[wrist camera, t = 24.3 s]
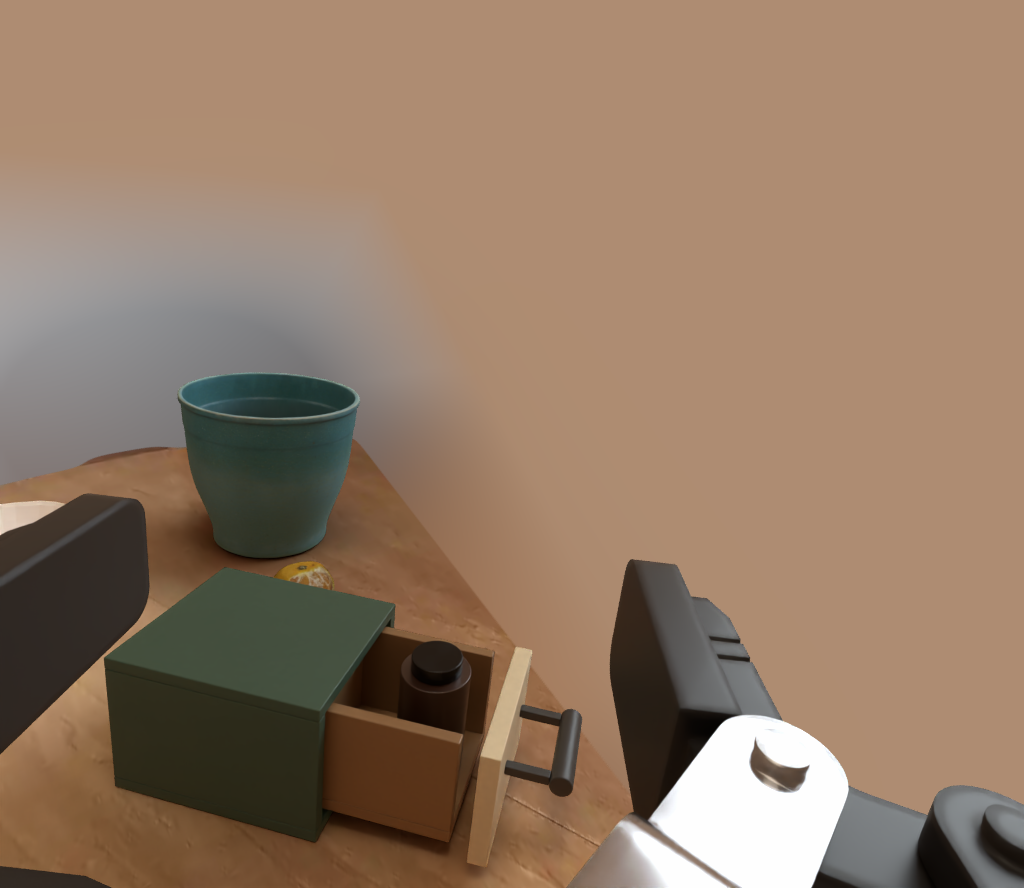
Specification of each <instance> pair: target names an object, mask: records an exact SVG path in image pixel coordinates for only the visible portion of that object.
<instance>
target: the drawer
mask: <svg viewBox="0 0 1024 888" xmlns="http://www.w3.org/2000/svg"><path fill="white" fill-rule="evenodd" d="M428 641H445V642H449V643H451V644H453V645H455V646H457V647H458V648H459V649H460V650H461V652H462V654H463V657H464V658H465V659H466V660H467V661H468V663H469V665H470V667H471V681H470V689H469V698H468V707H467V715H466V724H465V733H464V741H463V734H459V733H455V732H451V731H447V730H443V729H439V728H435V727H431V726H427V725H423V724H419V723H414V722H410V721H406V720H402V719H398V718H397V713H398V699H399V686H400V673H401V666H402V663H403V662H404V660H405V659H406V658H407V657H408V656H409V655H410V654H412V653H413V651H414V649H415V648H416V647H417V646H418V645H420V644H422V643H424V642H428ZM494 654H495V651H493V650H489V649H484V648H480V647H475V646H471V645H466V644H462V643H457V642H453V641H448V640H444V639H439V638H435V637H431V636H426V635H422V634H417V633H413V632H408V631H404V630H399V629H395V628H390V627H386V626H385V628H384V629H383V631H382V632H381V634H380V635H379V636H378V638H377V639H376V641H375V642H374V644H373V645H372V647H371V648H370V649H369V651H368V652H367V654H366V655H365V657H364V658H363V660H362V661H361V662H360V664H359V665H358V667H357V668H356V670H355V671H354V672H353V674H352V675H351V677H350V678H349V680H348V681H347V683H346V684H345V685H344V687H343V688H342V690H341V691H340V693H339V694H338V696H337V697H336V698H335V700H334V701H333V703H332V704H331V706H330V707H329V709H328V710H327V711H326V713H325V737H324V766H323V795H322V808H324V809H327V810H331V811H335V812H338V813H342V814H346V815H349V816H353V817H357V818H360V819H364V820H368V821H371V822H375V823H379V824H382V825H386V826H390V827H394V828H397V829H401V830H405V831H408V832H412V833H416V834H419V835H423V836H427V837H430V838H434V839H438V840H441V841H445V842H449V840H450V837H451V834H452V831H453V828H454V825H455V822H456V819H457V816H458V813H459V810H460V807H461V804H462V801H463V798H464V795H465V792H466V789H467V786H468V783H469V780H470V777H471V774H472V771H473V768H474V765H475V762H476V759H477V756H478V753H479V750H480V747H481V744H482V741H483V738H484V733H485V725H486V717H487V709H488V701H489V693H490V685H491V677H492V670H493V662H494ZM531 656H532V650H529V649H524V648H519V647H516V648H515V651H514V654H513V657H512V660H511V663H510V666H509V669H508V672H507V675H506V678H505V681H504V684H503V687H502V690H501V693H500V696H499V699H498V703H497V706H496V709H495V712H494V715H493V718H492V721H491V724H490V727H489V730H488V733H487V736H486V739H485V742H484V745H483V748H482V752H481V755H480V760H479V768H478V776H477V784H476V792H475V800H474V808H473V816H472V824H471V831H470V839H469V847H468V855H467V863H470V864H474V865H477V866H481V867H485V868H486V867H487V864H488V860H489V856H490V852H491V848H492V844H493V840H494V836H495V832H496V829H497V825H498V821H499V817H500V813H501V809H502V805H503V801H504V797H505V794H506V790H507V786H508V782H509V778H510V776H513V777H517V778H521V779H525V780H529V781H533V782H537V783H541V784H545V785H549V788H550V790H551V792H552V793H553V794H555V795H557V796H560V797H565V796H568V795H570V794H571V792H572V790H573V784H574V776H575V769H576V761H577V754H578V747H579V739H580V732H581V724H582V717H581V715H580V713H579V712H578V711H576V710H573V709H567V710H565V711H564V712H563V713H562V715H561V713H556V712H552V711H548V710H543V709H539V708H535V707H531V706H526V705H524V704H525V697H526V691H527V684H528V677H529V671H530V664H531ZM522 718H526V719H530V720H534V721H538V722H542V723H547V724H551V725H555V726H559V731H558V736H557V742H556V747H555V753H554V758H553V764H552V770H551V771H550V770H546V769H542V768H538V767H534V766H530V765H526V764H522V763H518V762H514V758H515V755H516V751H517V747H518V743H519V738H520V731H521V724H522ZM462 742H463V750H462ZM461 751H462V758H461ZM460 760H461V767H460ZM459 768H460V772H459Z"/></svg>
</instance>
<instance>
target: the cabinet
mask: <svg viewBox="0 0 1024 888" xmlns="http://www.w3.org/2000/svg"><path fill="white" fill-rule="evenodd" d="M394 619H395V604H393V603H388V602H383V601H379V600H374V599H370V598H365V597H360V596H356V595H351V594H347V593H342V592H337V591H333V590H328V589H324V588H319V587H314V586H310V585H305V584H300V583H296V582H291V581H287V580H282V579H277V578H273V577H268V576H264V575H259V574H254V573H250V572H245V571H240V570H236V569H231V568H227V567H224V568H223V569H222V570H220V571H219V572H218V573H216V574H215V575H214V576H212V577H211V578H210V579H208V580H207V581H206V582H204V583H203V584H202V585H200V586H199V587H198V588H196V589H195V590H194V591H192V592H191V593H190V594H188V595H187V596H186V597H184V598H183V599H182V600H180V601H179V602H178V603H176V604H175V605H174V606H172V607H171V608H170V609H168V610H167V611H166V612H164V613H163V614H162V615H160V616H159V617H158V618H156V619H155V620H154V621H152V622H151V623H150V624H148V625H147V626H146V627H144V628H143V629H142V630H140V631H139V632H138V633H136V634H135V635H134V636H132V637H131V638H130V639H128V640H127V641H126V642H124V643H123V644H122V645H120V646H119V647H118V648H116V649H115V650H114V651H112V652H111V653H110V654H108V655H107V656H106V657H104V665H105V676H106V687H107V698H108V709H109V720H110V731H111V742H112V753H113V764H114V775H115V786H117V787H120V788H124V789H127V790H131V791H135V792H138V793H142V794H145V795H149V796H152V797H156V798H159V799H163V800H167V801H170V802H174V803H177V804H181V805H184V806H188V807H192V808H195V809H199V810H202V811H206V812H209V813H213V814H216V815H220V816H224V817H227V818H231V819H234V820H238V821H241V822H245V823H249V824H252V825H256V826H259V827H263V828H266V829H270V830H273V831H277V832H281V833H284V834H288V835H291V836H295V837H298V838H302V839H305V840H309V841H313V842H316V840H317V839H318V837H319V835H320V833H321V831H322V830H323V828H324V826H325V824H326V823H327V821H328V819H329V817H330V815H331V814H332V812H333V811H331V810H327V809H324V808H322V795H323V766H324V737H325V713H326V711H327V710H328V709H329V707H330V706H331V704H332V703H333V701H334V700H335V698H336V697H337V696H338V694H339V693H340V691H341V690H342V688H343V687H344V685H345V684H346V683H347V681H348V680H349V678H350V677H351V675H352V674H353V672H354V671H355V670H356V668H357V667H358V665H359V664H360V662H361V661H362V660H363V658H364V657H365V655H366V654H367V652H368V651H369V649H370V648H371V647H372V645H373V644H374V642H375V641H376V639H377V638H378V636H379V635H380V634H381V632H382V631H383V629H384V628H385V626H386V627H390V628H394Z"/></svg>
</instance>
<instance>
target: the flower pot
mask: <svg viewBox="0 0 1024 888" xmlns="http://www.w3.org/2000/svg"><path fill="white" fill-rule="evenodd" d="M178 401H179V403H180V404H181V410H182V420H183V424H184V429H185V437H186V445H187V452H188V459H189V465H190V469H191V473H192V476H193V480H194V482H195V485H196V488H197V490H198V493H199V495H200V497H201V499H202V501H203V503H204V505H205V508H206V510H207V512H208V515H209V517H210V520H211V522H212V525H213V536H214V540H215V541H216V543H217V544H218V545H219V546H220V547H222V548H223V549H225V550H227V551H229V552H231V553H234V554H237V555H241V556H245V557H254V558H277V557H284V556H290V555H294V554H298V553H301V552H304V551H306V550H308V549H311V548H312V547H314V546H315V545H317V544H318V543H319V542H320V541H321V540H322V539H323V537H324V536H325V533H326V524H327V520H328V518H329V515H330V512H331V510H332V507H333V505H334V503H335V500H336V498H337V496H338V494H339V491H340V489H341V487H342V484H343V481H344V478H345V475H346V471H347V467H348V463H349V458H350V451H351V444H352V436H353V430H354V426H355V419H356V412H357V408H358V406H359V403H360V398H359V395H358V394H357V393H356V392H355V391H354V390H353V389H351V388H349V387H347V386H344V385H342V384H340V383H336V382H333V381H330V380H325V379H321V378H315V377H309V376H302V375H293V374H280V373H235V374H225V375H216V376H211V377H206V378H201V379H197V380H194V381H191V382H189V383H187V384H185V385H184V386H182V387H181V388H180V389H179V390H178Z"/></svg>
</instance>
